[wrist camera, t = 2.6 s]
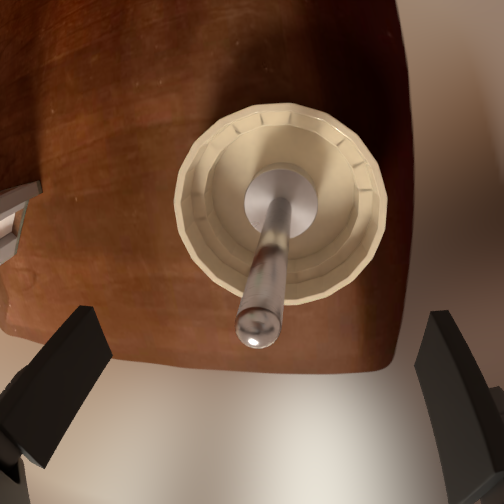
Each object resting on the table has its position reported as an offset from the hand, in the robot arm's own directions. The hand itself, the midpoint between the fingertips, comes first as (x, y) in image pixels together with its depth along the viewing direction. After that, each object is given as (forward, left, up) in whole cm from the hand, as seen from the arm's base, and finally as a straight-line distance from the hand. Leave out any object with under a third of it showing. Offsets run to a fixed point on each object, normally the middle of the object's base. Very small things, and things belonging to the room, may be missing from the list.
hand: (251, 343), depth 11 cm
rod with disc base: (0, 0, -19) cm, 19 cm away
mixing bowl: (0, 0, -20) cm, 20 cm away
